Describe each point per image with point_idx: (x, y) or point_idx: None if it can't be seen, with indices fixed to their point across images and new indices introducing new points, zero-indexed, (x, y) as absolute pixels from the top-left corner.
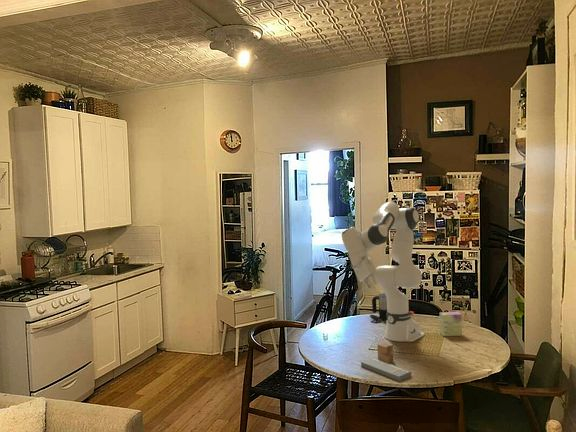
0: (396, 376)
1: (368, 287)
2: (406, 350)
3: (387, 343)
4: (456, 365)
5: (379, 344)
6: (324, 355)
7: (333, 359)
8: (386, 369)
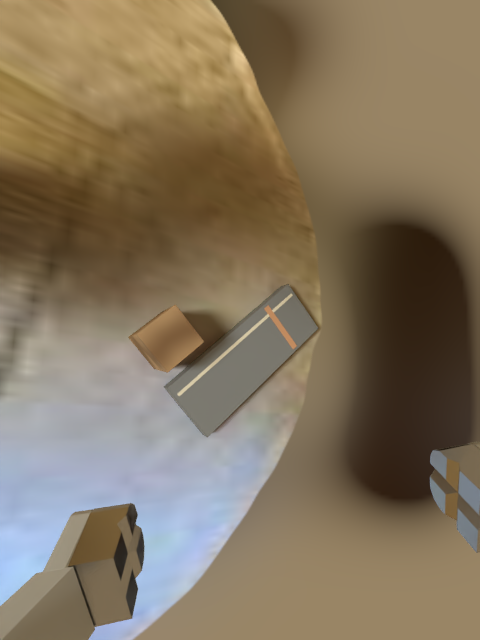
0: (312, 333)
1: (142, 553)
2: (29, 228)
3: (158, 326)
4: (205, 122)
5: (170, 364)
6: None
7: None
8: (272, 355)
